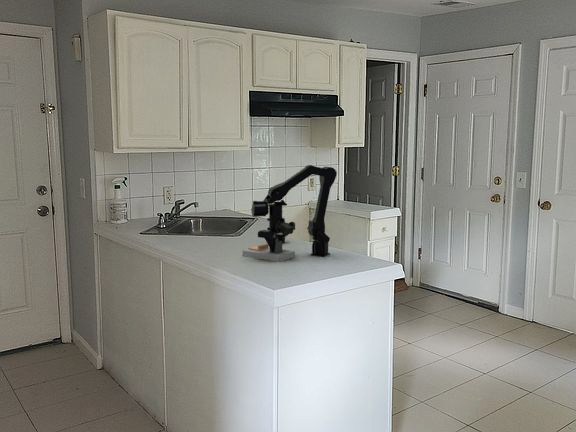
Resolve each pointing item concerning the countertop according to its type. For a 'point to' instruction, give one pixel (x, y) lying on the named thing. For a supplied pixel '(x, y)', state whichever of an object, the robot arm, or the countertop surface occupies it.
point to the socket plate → (269, 254)
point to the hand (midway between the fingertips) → (275, 251)
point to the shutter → (259, 247)
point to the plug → (277, 247)
